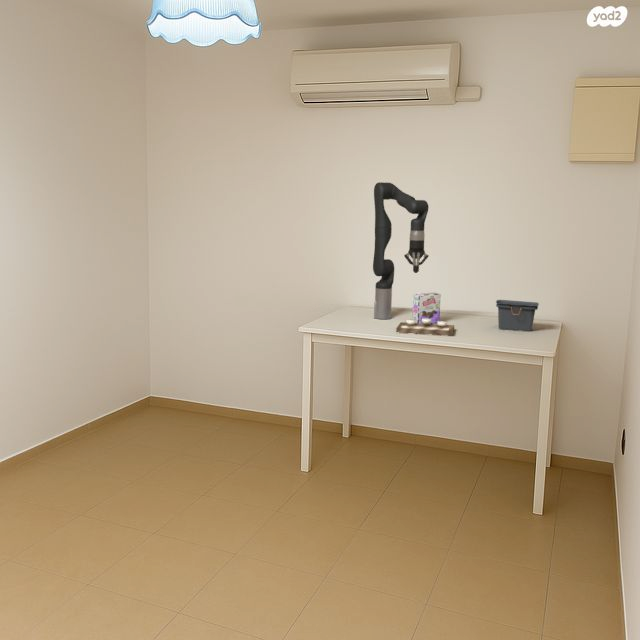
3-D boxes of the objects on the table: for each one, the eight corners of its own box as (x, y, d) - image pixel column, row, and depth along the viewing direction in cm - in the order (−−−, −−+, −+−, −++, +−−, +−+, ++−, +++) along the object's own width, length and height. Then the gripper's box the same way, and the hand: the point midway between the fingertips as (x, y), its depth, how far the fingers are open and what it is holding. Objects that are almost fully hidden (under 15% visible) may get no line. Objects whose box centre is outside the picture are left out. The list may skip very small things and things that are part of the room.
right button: (436, 326, 343) (437, 322, 343) (437, 324, 348) (437, 320, 348) (446, 326, 342) (446, 322, 342) (447, 325, 347) (447, 321, 346)
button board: (396, 332, 340) (396, 327, 340) (400, 326, 356) (400, 321, 355) (452, 336, 334) (452, 330, 333) (454, 330, 349) (454, 324, 348)
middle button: (421, 323, 345) (421, 319, 345) (422, 321, 350) (422, 318, 349) (430, 323, 344) (430, 320, 344) (431, 322, 348) (431, 318, 348)
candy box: (417, 325, 362) (418, 294, 359) (412, 323, 367) (413, 293, 364) (439, 323, 367) (440, 293, 364) (434, 321, 372) (435, 292, 369)
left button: (405, 324, 347) (405, 320, 347) (406, 322, 352) (406, 319, 351) (414, 325, 346) (415, 321, 346) (416, 323, 351) (416, 319, 350)
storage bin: (536, 328, 356) (538, 301, 353) (536, 333, 341) (538, 306, 339) (495, 325, 362) (497, 299, 360) (493, 330, 348) (495, 303, 345)
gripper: (430, 239, 348) (429, 272, 352) (405, 238, 352) (404, 271, 355) (429, 240, 341) (428, 274, 344) (403, 239, 344) (402, 273, 348)
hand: (415, 272), depth 350 cm, fingers closed
